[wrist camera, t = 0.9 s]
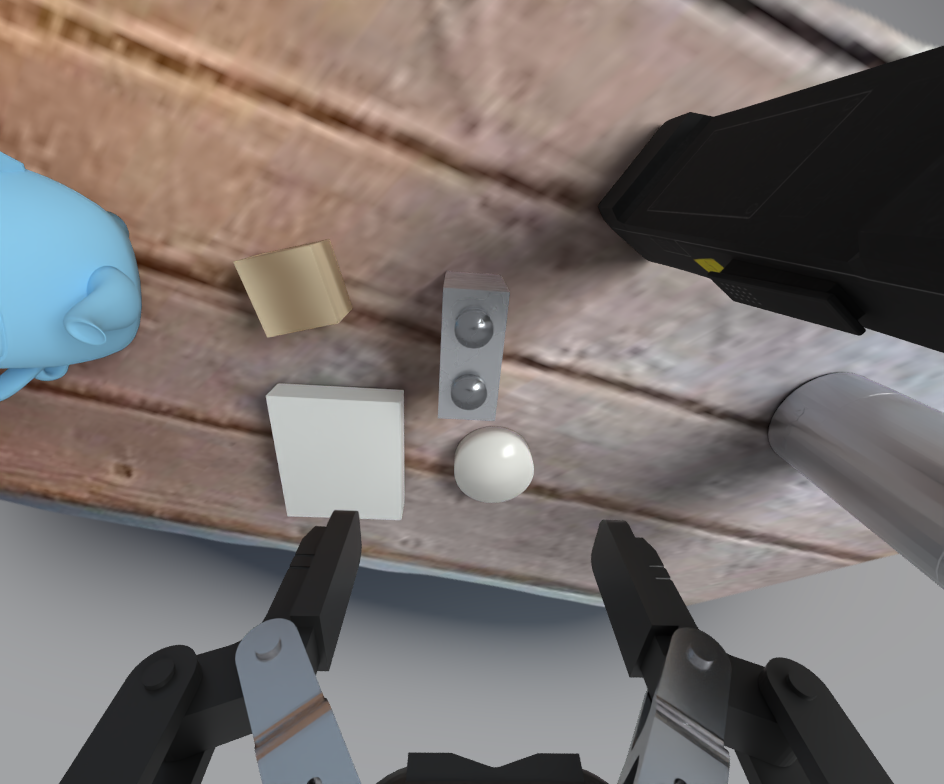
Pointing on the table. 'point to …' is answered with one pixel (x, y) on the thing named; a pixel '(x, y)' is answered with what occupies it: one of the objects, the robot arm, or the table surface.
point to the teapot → (60, 279)
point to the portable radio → (806, 201)
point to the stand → (339, 449)
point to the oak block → (295, 288)
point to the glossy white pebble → (493, 464)
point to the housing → (471, 344)
